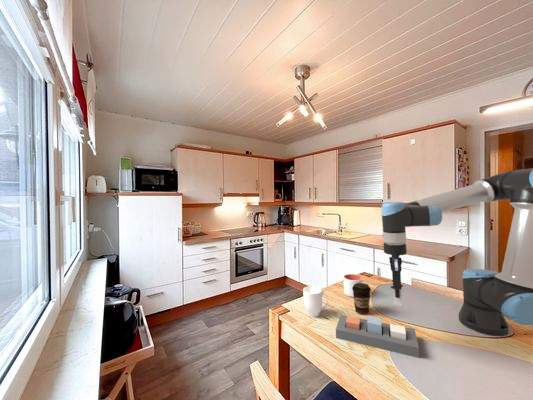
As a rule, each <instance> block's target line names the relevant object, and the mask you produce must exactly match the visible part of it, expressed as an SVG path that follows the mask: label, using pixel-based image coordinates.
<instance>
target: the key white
mask: <svg viewBox="0 0 533 400" xmlns="http://www.w3.org/2000/svg"><path fill="white" fill-rule="evenodd" d="M389 324H390V336H391V337H393V338H398V339H403V340H406V331H405V327H406V326H402V325H397V324H393V323H389Z"/></svg>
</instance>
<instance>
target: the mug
mask: <svg viewBox="0 0 533 400" xmlns="http://www.w3.org/2000/svg"><path fill="white" fill-rule="evenodd" d="M302 292H303V295H302V296H303V304H304V307H305V309H306V312H307V315H308V316H309V317H312V318H317V317H319V315H320V313H321V311H322V310H324V309H325V308H326V307H327V306H328V304H329V298H328V297H329V296H328V294H326V293H325V292H324V291H322V289H321V288H320V287H319V286H316V285H314V286H313V285H312V286H311V285H310V286H305V287H303V289H302ZM324 295H325V296H326V298H327V301H326V303H325V304H324V305H323V296H324Z"/></svg>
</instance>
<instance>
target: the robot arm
mask: <svg viewBox="0 0 533 400" xmlns="http://www.w3.org/2000/svg"><path fill="white" fill-rule="evenodd" d="M496 201H509V205H511V206H512V207H513V208H514V210H513V211H514V212H513V216H512V221H511V224H510V225H511V226H510V230H509V235H508V238H507V244H506V250H505V253H504V258H503V259H504V260H503V262H502V268H501V272H499V271H495V270H490V269H484V268H483V269H480V268H467V269H464V270H463V271H462V278H461V279H462V293H463V295H462V297H463V304H462V306H461V308H460V310H459V312H458V321H459V322H460V324H462V325H463V326H465V327H466V328H468V329H470V330H473V331H475V332H478V333H481V334H484V335H488V336H495V337H503V336H504V337H505V336H507V335H508V334H509V333H510V328H509V327H510V326H509V324H508V322H507V319H508V320H510V321H513V322H515V323H517V324H519V325H523V326H533V167H532V168H524V169H523V168H522V169H513V170H508V171H503V172H500V173H498V174H495V175H492V176H488V177H485V178H483V179H480V180H476V181H475V182H474V183H473V184H469V185H466V186H463V187H460V188H457V189H452V190H449V191H445V192H441V193H439V194H435V195H432V196H427V197H424V198H421V199H418V200H414V201H410V202H408V203H404V202H402V201H387V202H383V203H382V205H381V221H382V233H381V235H380V236H381V237H383V238H382V240H383V245H382V246H383V253H384V254H387V255H391V256H389V257H388V258H389V264H390V270H391V274H392V276H391V277H392V279H391V280H392V281H391V282H392V285H391V286H390V289H392V293H393V294H392V297H393V299H392V300H393V301H392V302H393V305H394V306H400V307H402V306H403V300H402V299H403V298H402V287H403V284H402V275H401V272H402V264H403V262H402V261H403V259H402V257H400V256H405V255H406V254H407V252H408V250H407V244H406V243H407V233H406V232H407V231H406V228H408V227H409V228H410V227H431V226H434V227H435V226H438V225H440V224H441V223H442V221H443V213H445V212H448V211H451V210H456V209H460V208H464V207H466V206H470V205H474V204H478V203H482V202H483V203H488V204H489V203H492V202H496Z"/></svg>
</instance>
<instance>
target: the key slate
mask: <svg viewBox="0 0 533 400" xmlns="http://www.w3.org/2000/svg"><path fill="white" fill-rule="evenodd" d="M366 320H367V332H370V333H375V334H379V335H382V323H383V322H382V318H380V317H375V316H370V315H367V319H366Z"/></svg>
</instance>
